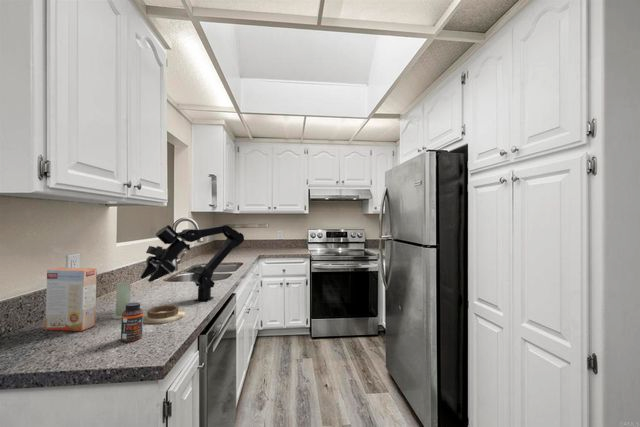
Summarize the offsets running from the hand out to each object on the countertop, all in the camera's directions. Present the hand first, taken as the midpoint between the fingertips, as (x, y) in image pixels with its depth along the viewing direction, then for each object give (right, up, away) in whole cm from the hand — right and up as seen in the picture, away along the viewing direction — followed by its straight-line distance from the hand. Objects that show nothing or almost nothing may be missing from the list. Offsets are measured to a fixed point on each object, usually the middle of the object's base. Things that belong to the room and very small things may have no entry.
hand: (145, 279), depth 123 cm
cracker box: (-15, -13, -19) cm, 27 cm away
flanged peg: (-5, -13, -6) cm, 15 cm away
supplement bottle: (+12, -13, -28) cm, 33 cm away
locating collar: (+11, -13, -6) cm, 18 cm away
